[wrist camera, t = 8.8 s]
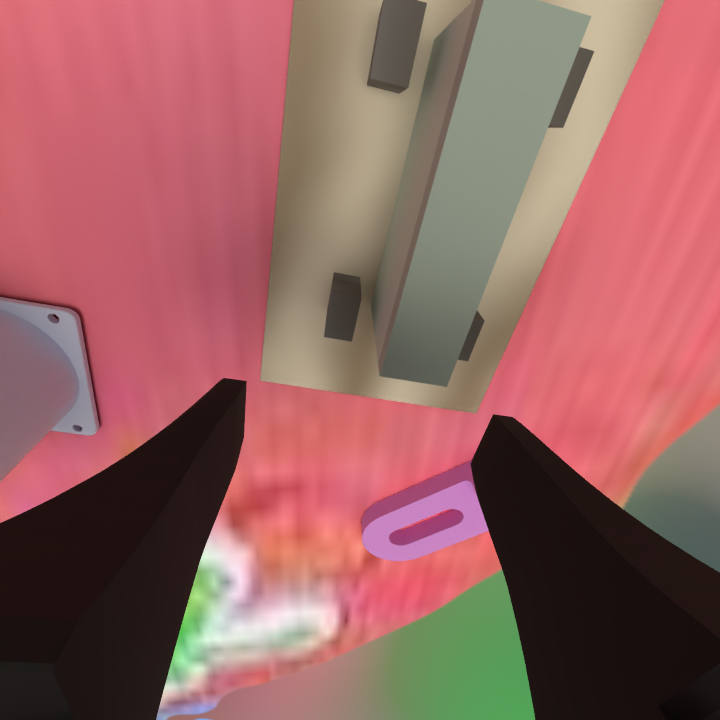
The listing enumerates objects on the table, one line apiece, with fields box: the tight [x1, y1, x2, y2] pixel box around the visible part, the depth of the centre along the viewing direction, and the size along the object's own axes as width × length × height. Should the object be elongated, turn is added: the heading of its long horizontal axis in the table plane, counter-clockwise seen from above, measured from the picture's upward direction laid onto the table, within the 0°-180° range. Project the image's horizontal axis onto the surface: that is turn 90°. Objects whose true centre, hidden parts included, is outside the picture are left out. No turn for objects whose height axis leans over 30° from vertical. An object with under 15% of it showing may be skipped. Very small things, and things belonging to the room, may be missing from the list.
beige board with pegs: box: [260, 0, 665, 413], centre depth 15 cm, size 12×20×4 cm, turn 168°
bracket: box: [362, 460, 489, 561], centre depth 24 cm, size 13×6×7 cm, turn 123°
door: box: [371, 0, 591, 387], centre depth 13 cm, size 2×10×6 cm, turn 168°
